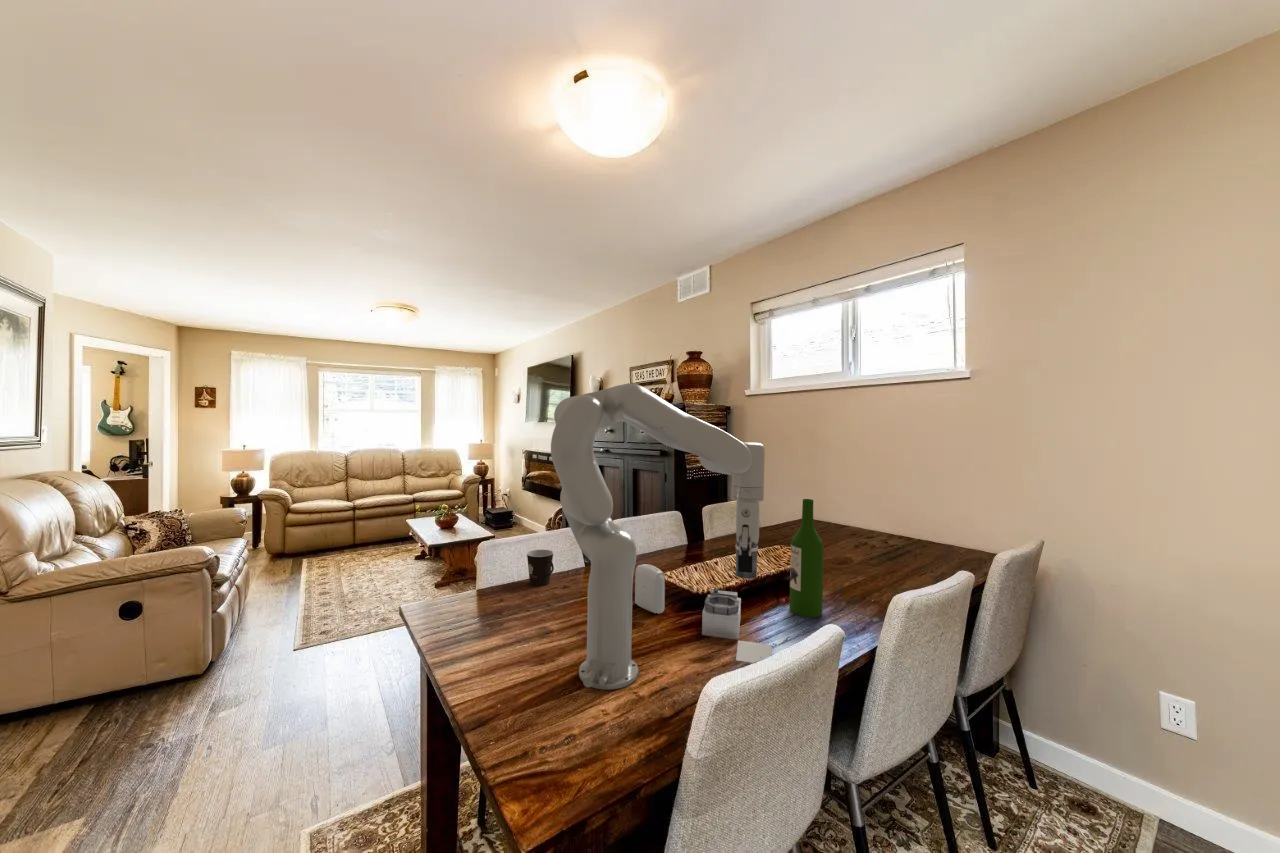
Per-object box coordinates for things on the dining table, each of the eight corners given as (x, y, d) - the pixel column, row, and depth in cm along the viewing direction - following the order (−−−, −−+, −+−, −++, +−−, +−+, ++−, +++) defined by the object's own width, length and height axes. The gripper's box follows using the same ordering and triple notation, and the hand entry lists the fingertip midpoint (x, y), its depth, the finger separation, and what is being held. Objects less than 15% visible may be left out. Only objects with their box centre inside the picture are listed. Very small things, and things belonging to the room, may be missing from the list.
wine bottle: (782, 607, 136) (785, 497, 136) (807, 604, 139) (809, 496, 139) (803, 619, 128) (806, 502, 128) (829, 615, 131) (831, 501, 131)
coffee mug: (525, 579, 156) (526, 550, 156) (551, 577, 159) (551, 548, 159) (527, 592, 145) (528, 560, 145) (555, 589, 148) (556, 558, 148)
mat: (772, 667, 102) (772, 665, 102) (735, 661, 104) (736, 660, 104) (771, 646, 112) (771, 644, 112) (738, 642, 114) (738, 640, 114)
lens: (756, 579, 108) (757, 545, 108) (733, 577, 110) (734, 542, 110) (757, 573, 113) (758, 539, 113) (735, 570, 115) (736, 537, 115)
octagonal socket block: (738, 641, 114) (738, 607, 114) (701, 636, 117) (702, 603, 117) (740, 619, 127) (741, 589, 127) (707, 615, 129) (708, 586, 129)
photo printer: (632, 604, 137) (633, 562, 137) (643, 600, 139) (644, 560, 139) (655, 615, 129) (656, 571, 129) (666, 612, 132) (667, 568, 131)
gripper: (762, 499, 102) (760, 581, 102) (764, 489, 118) (763, 560, 119) (728, 497, 104) (726, 577, 104) (735, 488, 121) (733, 557, 121)
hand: (745, 567), depth 111 cm, fingers closed on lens, 5 cm apart
